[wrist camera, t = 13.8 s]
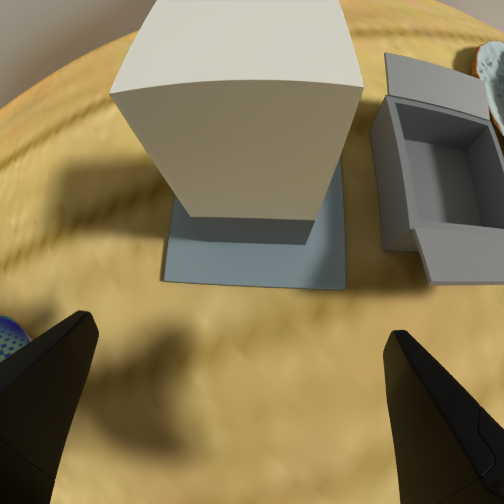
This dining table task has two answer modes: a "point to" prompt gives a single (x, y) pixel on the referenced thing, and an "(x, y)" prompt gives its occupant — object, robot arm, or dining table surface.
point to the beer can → (11, 337)
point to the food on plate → (492, 77)
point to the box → (243, 110)
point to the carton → (440, 173)
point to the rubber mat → (263, 253)
